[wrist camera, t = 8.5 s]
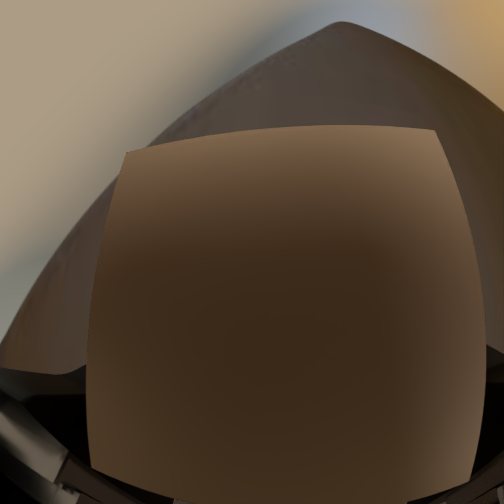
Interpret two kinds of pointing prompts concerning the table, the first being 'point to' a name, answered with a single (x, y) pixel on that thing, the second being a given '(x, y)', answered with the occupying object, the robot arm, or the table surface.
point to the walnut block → (287, 320)
